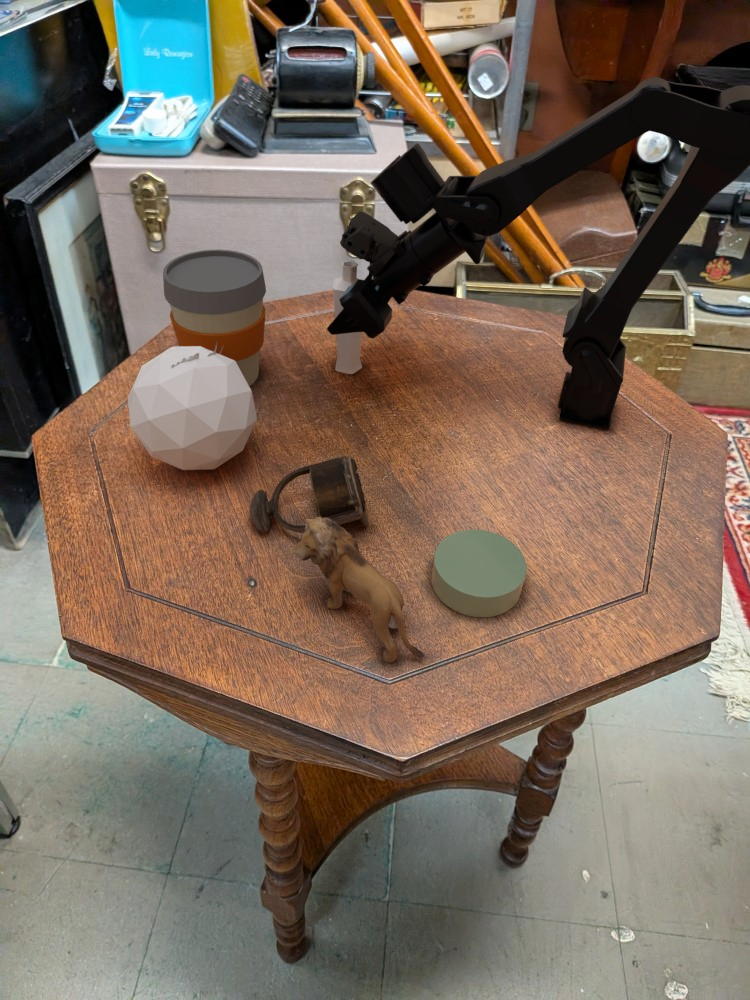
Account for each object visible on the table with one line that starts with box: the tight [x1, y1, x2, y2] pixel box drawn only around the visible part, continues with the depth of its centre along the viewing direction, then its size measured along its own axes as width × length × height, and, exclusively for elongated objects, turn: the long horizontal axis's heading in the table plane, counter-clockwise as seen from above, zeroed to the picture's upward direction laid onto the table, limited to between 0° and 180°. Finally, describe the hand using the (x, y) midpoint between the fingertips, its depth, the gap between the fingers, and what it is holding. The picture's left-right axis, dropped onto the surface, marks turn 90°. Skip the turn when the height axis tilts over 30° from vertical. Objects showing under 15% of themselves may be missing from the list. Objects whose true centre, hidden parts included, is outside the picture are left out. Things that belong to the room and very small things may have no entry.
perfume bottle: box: [332, 260, 363, 375], centre depth 97 cm, size 5×4×15 cm
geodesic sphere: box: [127, 342, 258, 471], centre depth 81 cm, size 15×14×14 cm
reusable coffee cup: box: [162, 249, 267, 387], centre depth 94 cm, size 13×13×15 cm
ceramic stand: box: [430, 529, 528, 618], centre depth 71 cm, size 9×9×3 cm
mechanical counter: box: [249, 455, 369, 534], centre depth 76 cm, size 7×13×10 cm
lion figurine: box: [292, 516, 426, 663], centre depth 66 cm, size 15×5×9 cm, turn 50°
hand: (339, 318), depth 97 cm, fingers open, 7 cm apart
